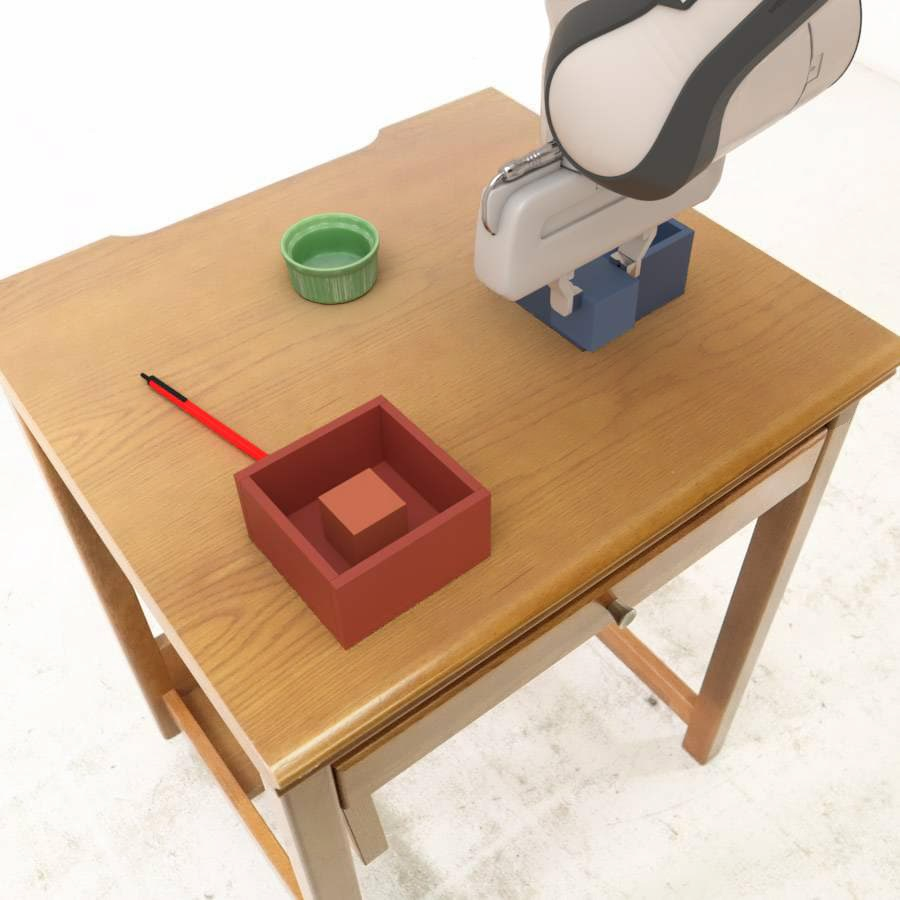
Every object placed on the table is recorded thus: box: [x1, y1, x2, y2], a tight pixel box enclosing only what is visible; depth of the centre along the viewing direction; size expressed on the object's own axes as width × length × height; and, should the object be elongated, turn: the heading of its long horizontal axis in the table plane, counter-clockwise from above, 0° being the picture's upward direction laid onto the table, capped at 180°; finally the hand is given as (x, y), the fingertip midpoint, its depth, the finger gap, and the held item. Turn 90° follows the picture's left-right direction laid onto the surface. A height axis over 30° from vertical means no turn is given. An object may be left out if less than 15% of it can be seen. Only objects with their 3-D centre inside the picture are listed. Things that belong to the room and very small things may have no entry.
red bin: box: [233, 394, 492, 651], centre depth 75 cm, size 13×13×7 cm
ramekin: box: [279, 212, 381, 305], centre depth 98 cm, size 9×9×4 cm
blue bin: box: [514, 217, 696, 352], centre depth 95 cm, size 13×13×7 cm
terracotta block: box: [318, 468, 409, 567], centre depth 75 cm, size 4×4×4 cm
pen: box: [139, 372, 269, 462], centre depth 85 cm, size 1×19×1 cm, turn 50°
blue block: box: [551, 256, 639, 353], centre depth 77 cm, size 4×4×4 cm
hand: (595, 292), depth 77 cm, fingers closed on blue block, 4 cm apart
